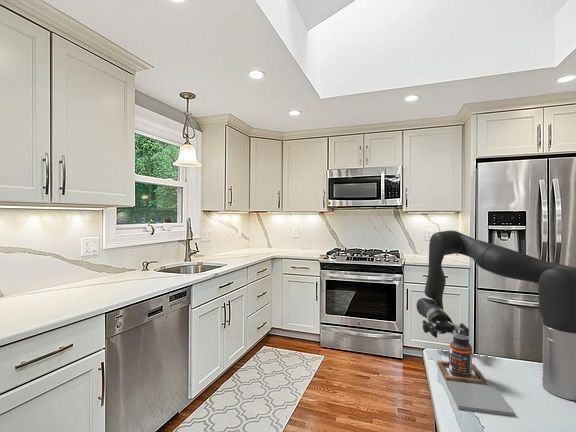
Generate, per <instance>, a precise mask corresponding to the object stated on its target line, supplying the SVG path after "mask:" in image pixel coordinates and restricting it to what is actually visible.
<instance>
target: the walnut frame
mask: <svg viewBox="0 0 576 432" xmlns="http://www.w3.org/2000/svg"><path fill="white" fill-rule="evenodd" d="M436 363H437V366H438V369H439V370H440V372H441V375H442V376H443V378H444V382H446V381H454V382H463V383H472V384H481V385H488V381H487V380H486V378H485V377H484V375H482V373H481V372H480V371H479V369H478V367H477V366H476V365H475V363H472V373H473V374H474V373H475V374H474V375H475V377H476V378H473V377H470V378H465V377H456V376H454V375H449V374H448V372H447V369H446V368H447V367H449V361H446V360H437V362H436ZM445 367H446V368H445Z"/></svg>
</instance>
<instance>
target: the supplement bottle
mask: <svg viewBox="0 0 576 432" xmlns="http://www.w3.org/2000/svg"><path fill="white" fill-rule="evenodd" d="M452 339H453V340H451V341H450V342H449V351H448V352H449V355H448V356H449V358H448V359H449V361H448V362H449V369H448V371H449V373H450V375H451V376H456V377H465V378H472V376H473V375H472V374H473V371H472V364H473V347H472V345H471V344H470V343H469V342H470V340H469V336H468V337H467V336H465V335H460V334H455V335H453V338H452Z"/></svg>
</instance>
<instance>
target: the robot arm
mask: <svg viewBox="0 0 576 432" xmlns="http://www.w3.org/2000/svg"><path fill="white" fill-rule="evenodd" d="M453 254H454V255H455V254H459V255H464V256H466V257H469V258H471V259H473V261H474V263H475V264H476V265H477V266H478V267H479V268H481V269H483V270H484V271H487V272H490V273H492V274H494V275H497V276H499V277H500V276H501V277H504V278H509V279H513V280H516V281H517V280H520V281H524V282H530V283H533V284H537V286H538V287H537V291H538V307H539V308H538V309H539V313H540V315H541V318H542V378H541V379H542V387H543V388H544V390H546V391H547V392H548V393H551V394H553V396H554V395H555V396H556V397H560V398H562V399H566V400H571V401H576V267H575V266H570V265H565V264H564V265H563V264H560V263H556V262H550V261H547V260H542V259H539V258H536V257H534V256H531V255H528V254H525V253H522V252H519V251H517V250H513V249H510V248H508V247H504V246H501V245H497V244H494V243H490V242H486V241H483V240H481V239H476V238H473V237H471V236H469V235H466V234H464V233H462V232H459V231H457V230H452V229H451V230H450V229H449V230H443V231H437V232H435V233H433V234H431V236H430V239H429V245H428V271H427V272H428V274H427V277H426V283H425V287H424V294H425V296H426V297H421V298H418V300H417V301H416V311H417V312H418V314H419V315H421V316H422V317H423V318H425V319H426V320H427V321H426V320H425V319H424V320H422V330H423V332H424V333H426V334H428V333H429V334H430V335H431V336H433V337H434V338H436V339H437V338H438V334H440V335H445V334H450V335H453V336H454V335H455V334H460V335H465V336H467V337H468V338H469V335H470V329H469V327H467V326H466V324H465V323H459V325H458V324H456V323H454V322H453V321H452V318H451V317H450V316H449V315H448V314H447V313H446V311H445V310H444V304H443V295H444V291H445V286H446V282H447V281H446V274H445V273H444V270H443V264H442V263H443V260H444V258H445V256H448V255H453ZM427 297H428V298H427Z"/></svg>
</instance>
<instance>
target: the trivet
mask: <svg viewBox="0 0 576 432" xmlns="http://www.w3.org/2000/svg"><path fill="white" fill-rule="evenodd" d="M445 385H446V388H447V389H448V391H449V392H450V395H451V397H452V398H453V399H452V400H453V401H454V404H455V405H456V407H457V409H459V410H464V411H465V410H466V411H473V412H480V413H487V414H494V415H495V414H496V415H503V416H509V417H510V416H511V417H515V412H514V411H513V409H512V408H511V406H509V404H508V403H507V402H506V400H505V399H504V397H503V396H502V395H501V394H500V392H499V391H498V389H497V388H496V387H495V386H494V385H488V384H487V385H481V384H472V383H463V382H454V381H445Z"/></svg>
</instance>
